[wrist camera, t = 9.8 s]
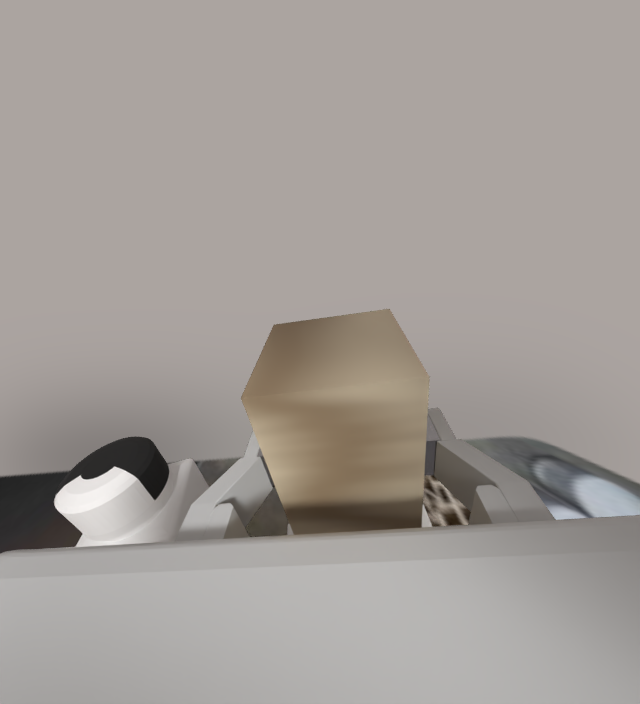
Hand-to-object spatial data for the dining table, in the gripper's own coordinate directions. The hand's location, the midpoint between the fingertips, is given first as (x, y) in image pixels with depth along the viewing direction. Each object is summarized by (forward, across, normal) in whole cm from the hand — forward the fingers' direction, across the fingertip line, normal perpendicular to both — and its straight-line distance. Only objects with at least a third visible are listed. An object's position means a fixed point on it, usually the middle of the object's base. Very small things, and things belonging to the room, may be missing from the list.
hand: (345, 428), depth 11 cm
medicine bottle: (+4, +17, +17) cm, 25 cm away
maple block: (-1, 0, +6) cm, 6 cm away
